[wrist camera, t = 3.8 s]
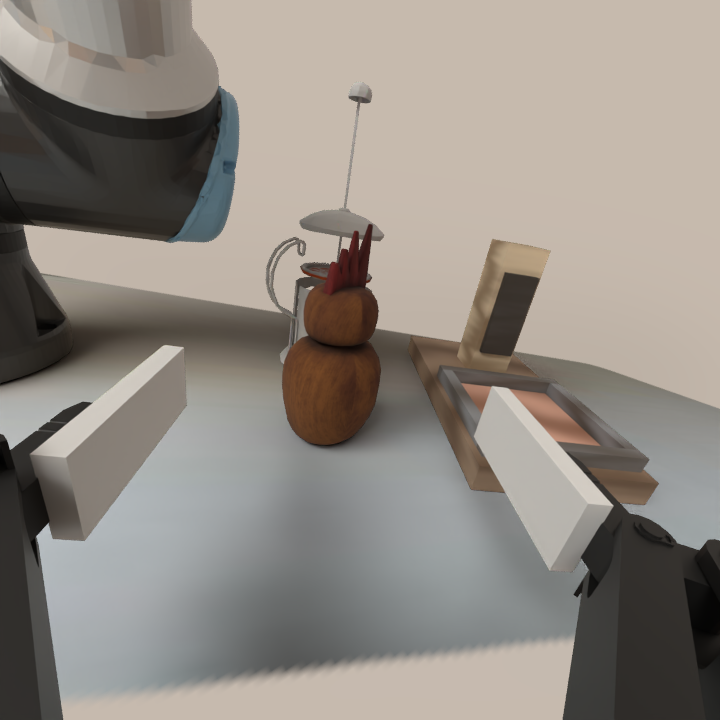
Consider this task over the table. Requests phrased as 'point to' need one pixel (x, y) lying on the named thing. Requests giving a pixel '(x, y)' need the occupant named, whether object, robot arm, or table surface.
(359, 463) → the table surface
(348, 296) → the wooden figurine
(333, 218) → the french press
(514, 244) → the wooden tray stand
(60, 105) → the robot arm
